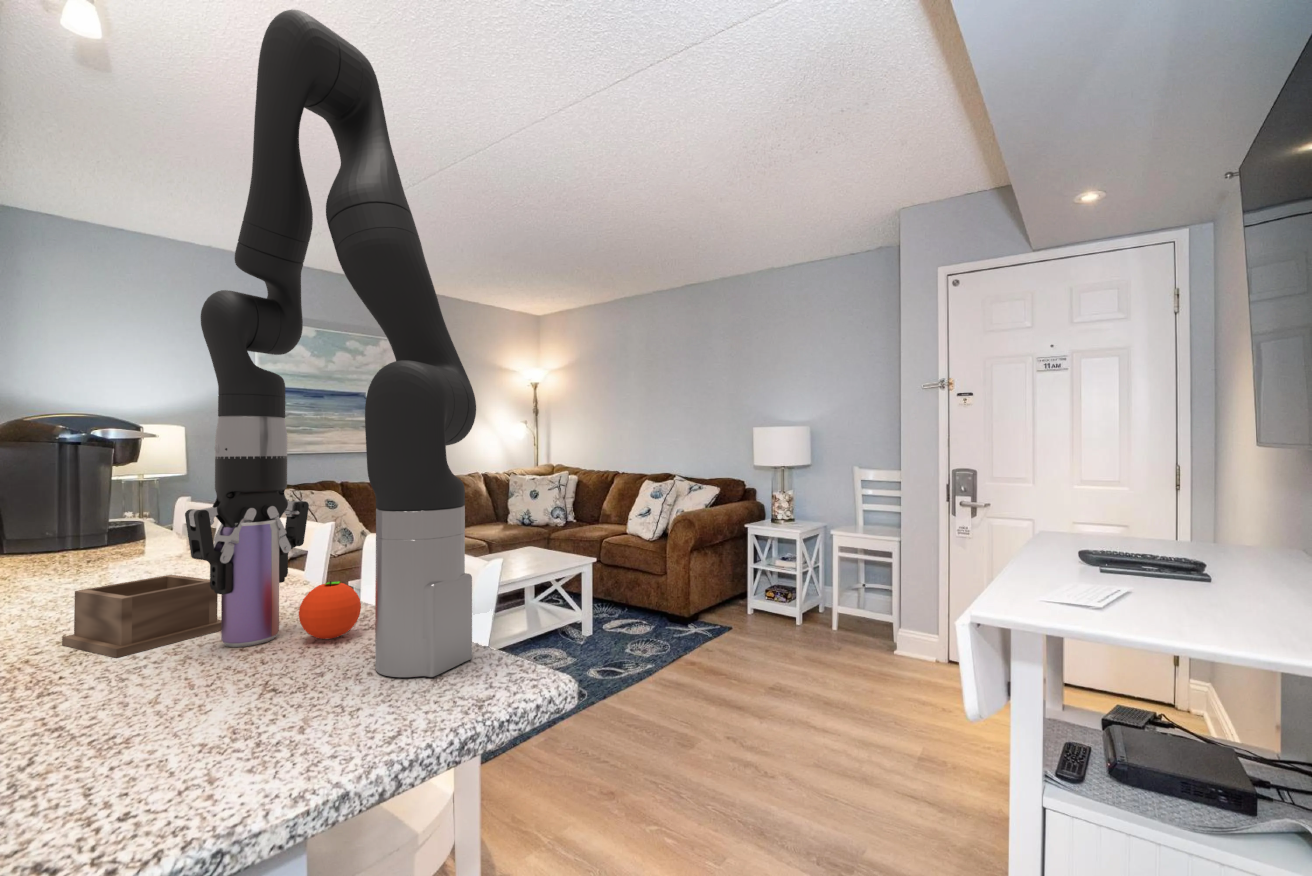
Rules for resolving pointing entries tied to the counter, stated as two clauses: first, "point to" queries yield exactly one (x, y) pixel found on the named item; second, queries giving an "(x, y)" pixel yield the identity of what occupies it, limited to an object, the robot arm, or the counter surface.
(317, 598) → the clementine
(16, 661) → the counter surface
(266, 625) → the beverage can
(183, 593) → the open wooden box
